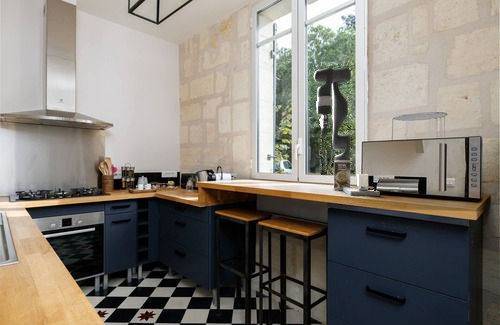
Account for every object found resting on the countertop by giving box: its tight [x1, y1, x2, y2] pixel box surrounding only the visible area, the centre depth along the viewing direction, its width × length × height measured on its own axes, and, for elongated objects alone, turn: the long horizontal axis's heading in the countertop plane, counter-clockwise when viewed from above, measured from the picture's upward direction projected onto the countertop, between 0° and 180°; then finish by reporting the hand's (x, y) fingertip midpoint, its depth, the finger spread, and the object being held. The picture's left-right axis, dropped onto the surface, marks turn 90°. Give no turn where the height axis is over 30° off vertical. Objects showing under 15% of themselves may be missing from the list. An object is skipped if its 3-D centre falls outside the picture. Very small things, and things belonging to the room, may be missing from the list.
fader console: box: [342, 187, 380, 197], centre depth 142 cm, size 21×13×2 cm, turn 171°
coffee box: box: [333, 161, 351, 191], centre depth 160 cm, size 9×6×16 cm
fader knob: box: [356, 173, 369, 190], centre depth 136 cm, size 4×4×8 cm
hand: (324, 136), depth 150 cm, fingers open, 8 cm apart
